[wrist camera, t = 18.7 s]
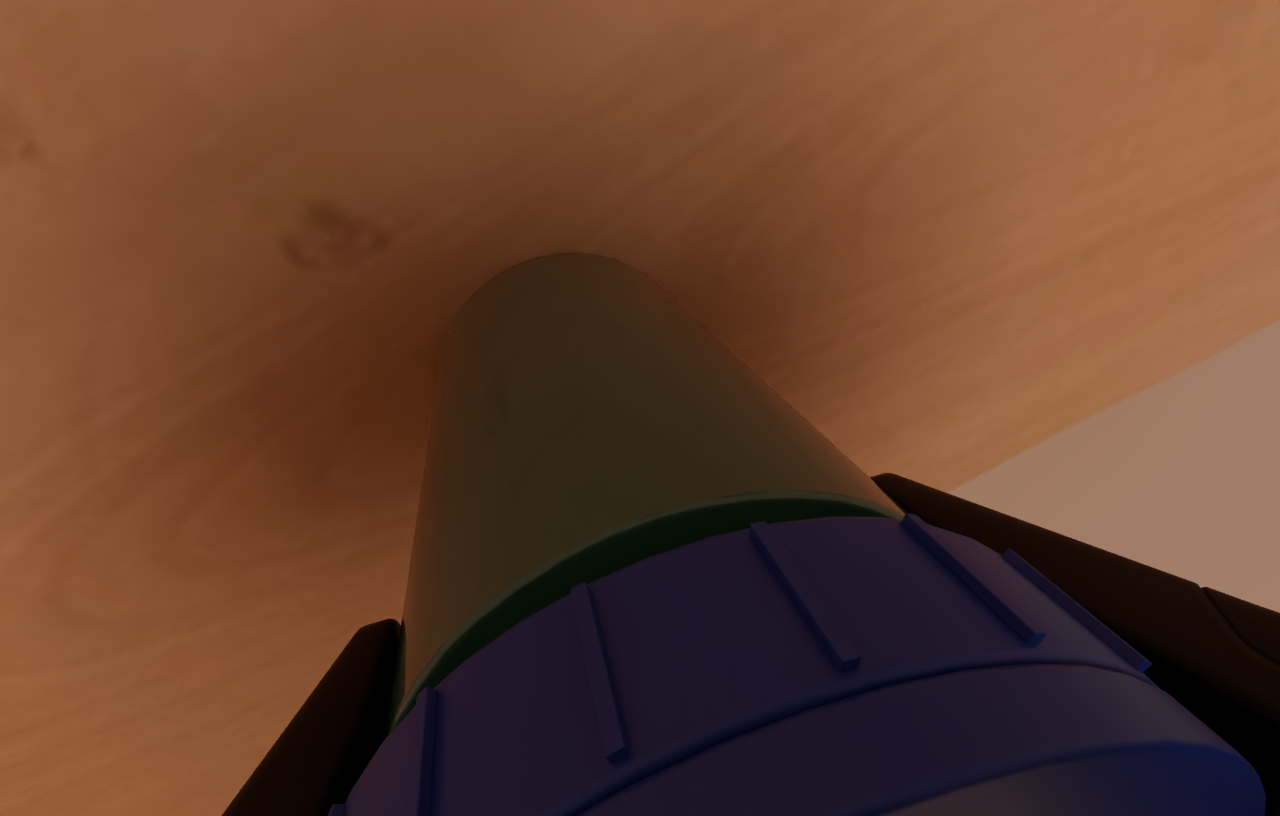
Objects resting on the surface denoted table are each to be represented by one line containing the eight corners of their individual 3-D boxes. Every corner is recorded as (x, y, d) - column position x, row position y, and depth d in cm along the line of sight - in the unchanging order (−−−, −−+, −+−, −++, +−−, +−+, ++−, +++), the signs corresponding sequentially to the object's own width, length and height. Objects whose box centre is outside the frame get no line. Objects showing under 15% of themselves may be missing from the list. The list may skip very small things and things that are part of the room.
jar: (740, 376, 15) (1157, 786, 6) (570, 528, 16) (701, 1097, 7) (577, 189, 12) (917, 437, 3) (377, 390, 13) (129, 1091, 4)
